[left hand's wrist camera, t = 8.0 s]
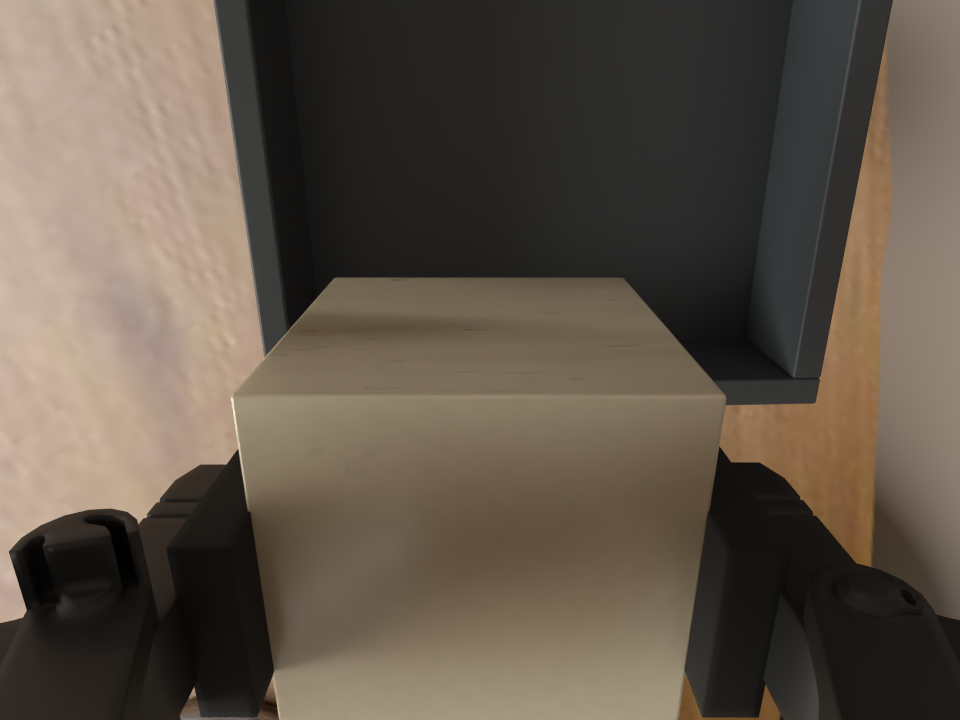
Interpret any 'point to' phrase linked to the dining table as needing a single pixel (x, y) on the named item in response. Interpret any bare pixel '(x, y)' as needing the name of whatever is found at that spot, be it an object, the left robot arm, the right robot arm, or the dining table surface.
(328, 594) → the block
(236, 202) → the dining table surface
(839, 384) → the dining table surface
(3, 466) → the dining table surface
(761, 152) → the tray
